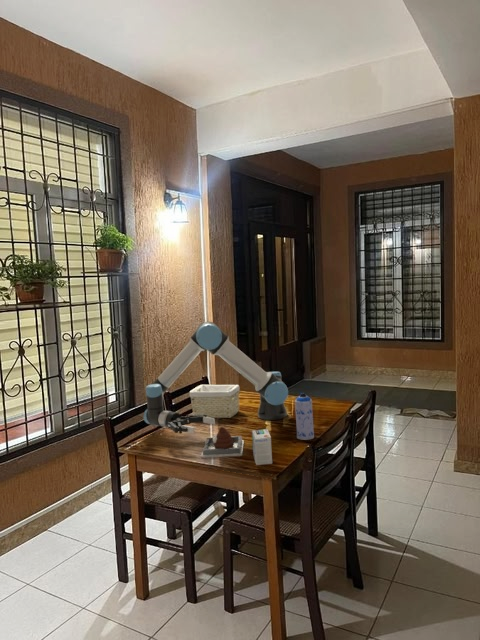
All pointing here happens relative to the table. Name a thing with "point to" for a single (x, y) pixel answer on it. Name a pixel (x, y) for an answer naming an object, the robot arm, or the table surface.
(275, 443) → the table surface
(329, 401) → the table surface
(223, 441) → the poop emoji
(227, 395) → the storage basket
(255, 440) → the light bulb box
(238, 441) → the mousse holder
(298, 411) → the aerosol can
